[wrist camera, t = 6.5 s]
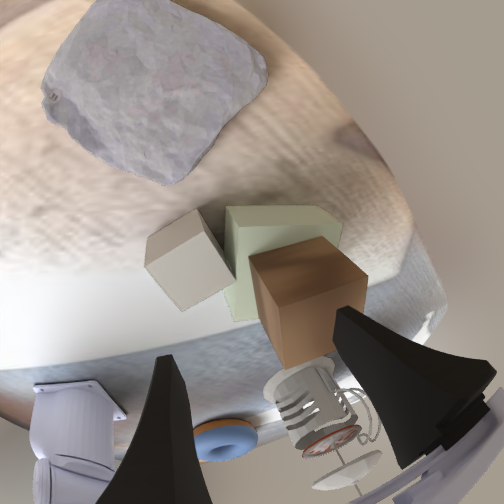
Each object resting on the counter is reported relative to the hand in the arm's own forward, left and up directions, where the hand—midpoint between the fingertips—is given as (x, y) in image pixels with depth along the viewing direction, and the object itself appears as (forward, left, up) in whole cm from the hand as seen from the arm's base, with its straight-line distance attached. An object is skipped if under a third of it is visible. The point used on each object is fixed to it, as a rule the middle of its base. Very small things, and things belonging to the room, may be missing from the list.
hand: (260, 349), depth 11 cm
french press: (+7, -21, -11) cm, 24 cm away
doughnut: (-5, -29, -11) cm, 31 cm away
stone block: (-3, +11, -11) cm, 16 cm away
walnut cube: (+4, -2, -7) cm, 8 cm away
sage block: (+4, -2, -11) cm, 11 cm away
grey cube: (-2, 0, -10) cm, 11 cm away
